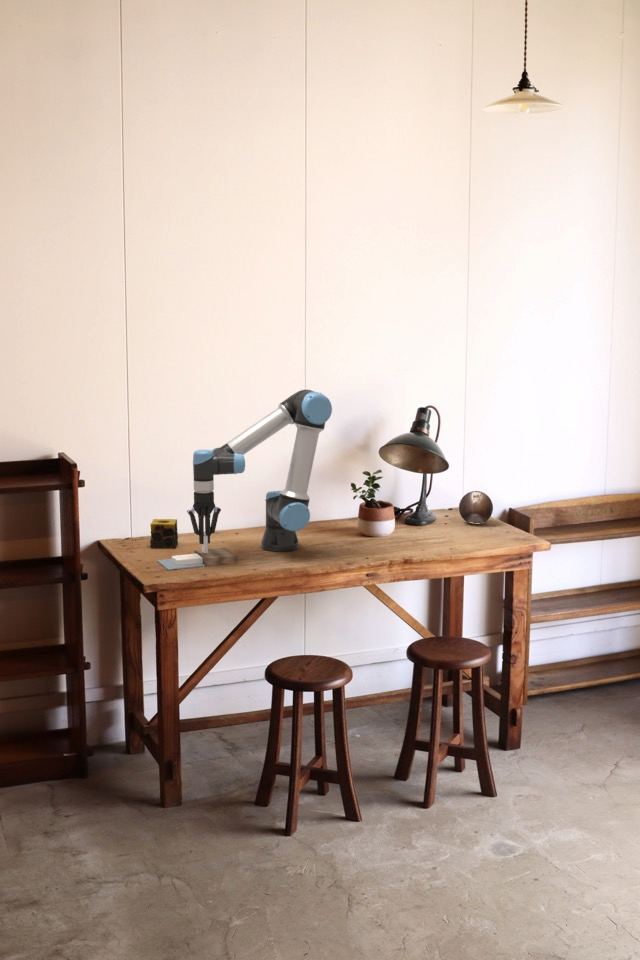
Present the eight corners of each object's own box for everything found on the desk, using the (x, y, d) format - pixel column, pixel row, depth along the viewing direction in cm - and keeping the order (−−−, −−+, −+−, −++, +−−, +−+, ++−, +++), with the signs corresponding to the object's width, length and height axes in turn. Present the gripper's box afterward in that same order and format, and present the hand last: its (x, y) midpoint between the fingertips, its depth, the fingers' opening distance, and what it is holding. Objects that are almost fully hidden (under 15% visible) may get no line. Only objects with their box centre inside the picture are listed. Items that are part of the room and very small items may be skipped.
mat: (193, 557, 408) (193, 556, 408) (205, 566, 396) (205, 565, 396) (157, 561, 402) (157, 560, 402) (168, 570, 390) (168, 569, 390)
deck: (224, 554, 414) (224, 547, 413) (236, 563, 401) (236, 555, 401) (194, 557, 409) (194, 550, 408) (206, 566, 396) (206, 558, 396)
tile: (196, 558, 405) (196, 553, 405) (202, 563, 399) (202, 557, 399) (171, 561, 401) (171, 555, 401) (177, 565, 395) (177, 560, 395)
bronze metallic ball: (462, 528, 467) (463, 494, 464) (455, 520, 481) (456, 488, 479) (495, 527, 468) (497, 494, 465) (487, 520, 483) (489, 488, 480)
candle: (175, 548, 422) (175, 524, 420) (150, 548, 422) (149, 524, 420) (178, 542, 432) (178, 518, 430) (153, 542, 432) (153, 518, 430)
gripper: (216, 487, 404) (217, 548, 409) (184, 490, 399) (185, 551, 403) (223, 491, 398) (224, 552, 402) (190, 494, 392) (191, 556, 396)
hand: (204, 552), depth 402 cm, fingers closed
